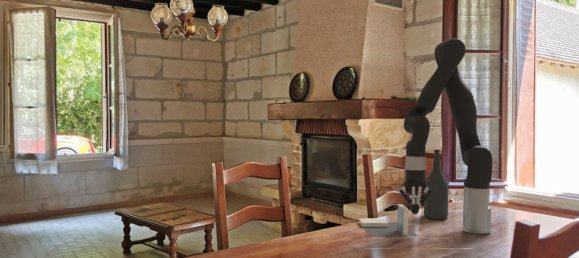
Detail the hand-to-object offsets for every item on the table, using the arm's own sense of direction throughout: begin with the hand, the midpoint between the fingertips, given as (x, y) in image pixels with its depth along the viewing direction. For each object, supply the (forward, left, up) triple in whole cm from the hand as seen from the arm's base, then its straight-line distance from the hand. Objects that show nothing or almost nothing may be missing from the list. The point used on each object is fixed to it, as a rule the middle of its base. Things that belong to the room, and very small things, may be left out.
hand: (414, 213), depth 176 cm
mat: (+9, -5, -8) cm, 13 cm away
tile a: (+8, -12, -6) cm, 16 cm away
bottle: (-18, -27, -8) cm, 33 cm away
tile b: (+4, 0, -7) cm, 8 cm away
